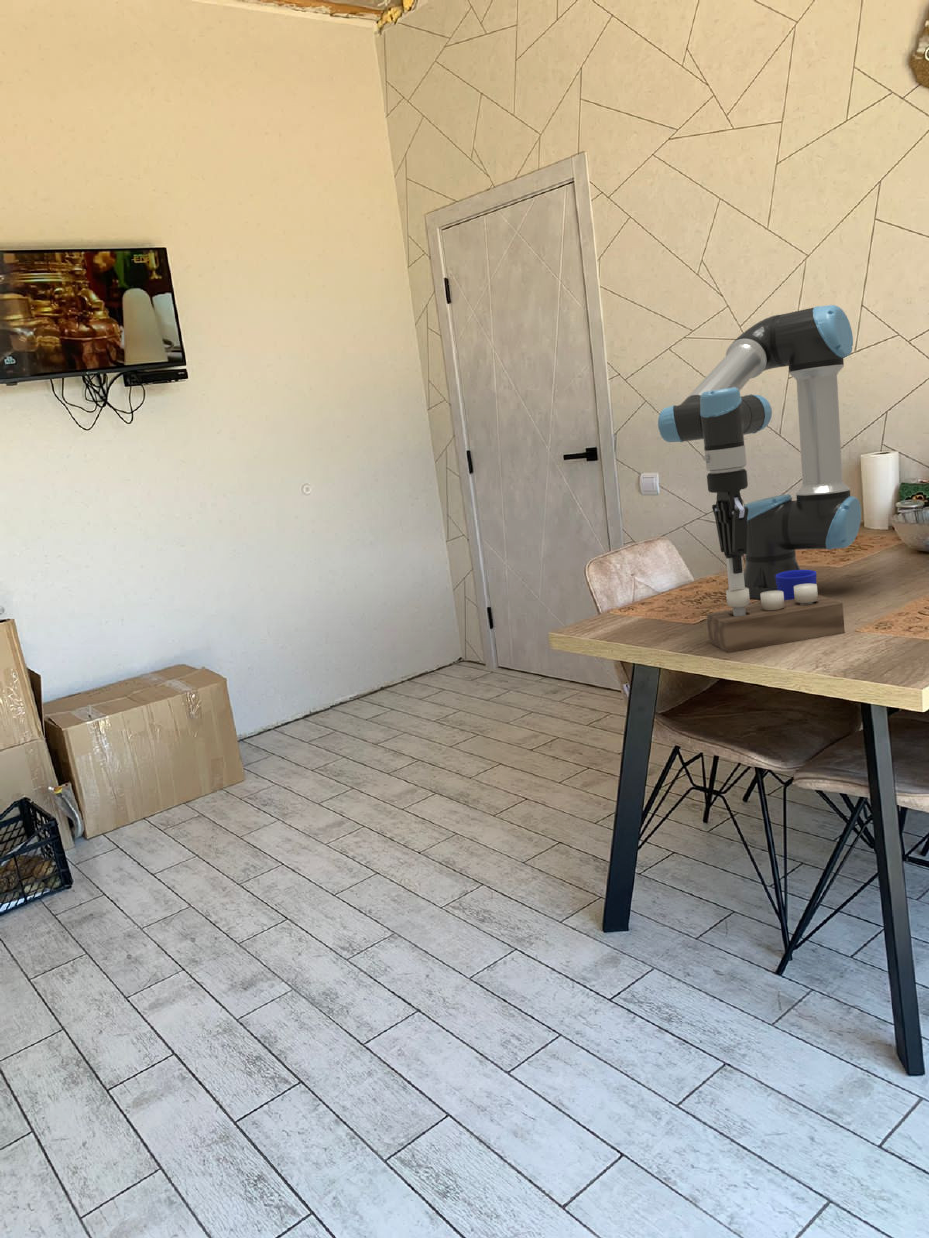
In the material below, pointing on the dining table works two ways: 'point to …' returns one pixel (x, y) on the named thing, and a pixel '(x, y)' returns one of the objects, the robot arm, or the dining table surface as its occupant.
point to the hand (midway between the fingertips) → (736, 588)
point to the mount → (775, 624)
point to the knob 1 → (738, 601)
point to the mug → (793, 581)
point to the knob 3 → (805, 593)
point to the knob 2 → (772, 600)
